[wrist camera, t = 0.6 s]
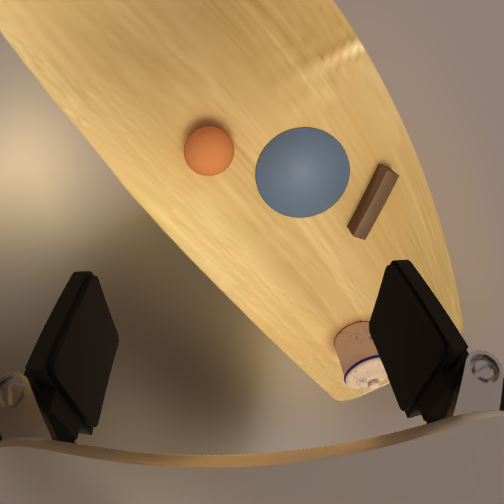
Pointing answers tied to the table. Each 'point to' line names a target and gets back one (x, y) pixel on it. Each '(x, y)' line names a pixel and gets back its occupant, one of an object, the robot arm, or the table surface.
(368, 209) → the stopper strip
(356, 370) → the teacup with lid
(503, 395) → the robot arm
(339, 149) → the disc
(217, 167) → the ball
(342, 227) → the table surface
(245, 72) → the table surface
